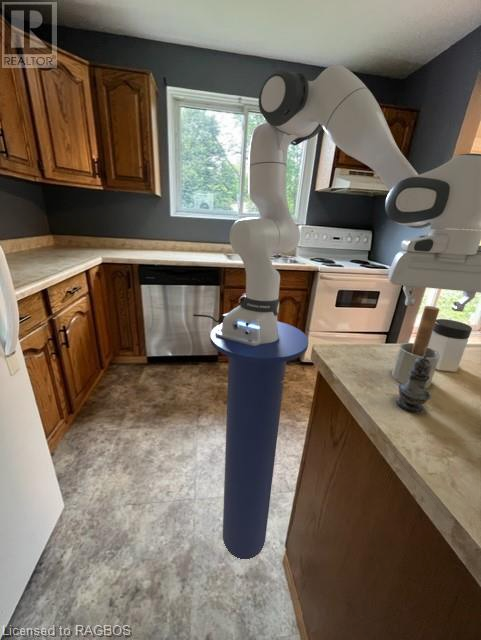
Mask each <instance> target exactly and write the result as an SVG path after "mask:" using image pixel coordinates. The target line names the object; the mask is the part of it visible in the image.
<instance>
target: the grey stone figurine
mask: <svg viewBox="0 0 481 640" xmlns="http://www.w3.org/2000/svg"><path fill="white" fill-rule="evenodd" d="M426 357H427V356H426V355H424V356H423V357H422V358H417V359H416V360H415V362H414V365H413V369H412V370H411V371H409V374H410V377H409V380H408V382H407V383H399V384H398V385H397V389H398V393H399V397H397V398H395V403H396V405H397V406H398V407H399V408H401V409H402V410H404V411H406V412H408V413H412V414H422V413H424V412H425V406H424V405H425V404H426V403H427V402H428V400H430V399H431V398H432V395H431V392H429V390H427V388H425V385H426V381H427V380H429V378H430V377H429V376H428V374H429V371H430V368H431V362H430V361H429V360H428V359H427V358H426Z"/></svg>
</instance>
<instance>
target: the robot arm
mask: <svg viewBox="0 0 481 640" xmlns="http://www.w3.org/2000/svg"><path fill="white" fill-rule="evenodd" d="M258 109H259V112H260V114H261V116H262V118H263V119H264V120H265V121H264V122H261V123H259V124H258V125H256V126H255V127H254V128H253V130H252V132H251V136H250V143H249V151H248V197H249V199H250V201H251V202H252V203H253V204H254V205H255V206H256V208H257V210H258V212H259V217H256V216H255V217H254V216H253V217H252V216H251V217H245V218H241V219H238V220H235V222H234V223H233V224H232V226H231V228H230V230H229V244H230V246H231V248H232V249H233V251H234V252H235V253H236V254H237V255H238V256H239V257H240V259H241V261H242V263H243V267H244V271H245V292H244V293H243V294H241V296H240V297H239V299H238V304H239V305H238V306H236V307H235V308H233V309H231V310H230V311H229V312H227V313H224V314H222V315H221V316H219V318H218V320H217V319H216V318H214V316H212V315H208V314H195V313H194V314H192V316H193V317H199V318H201V317H202V318H210V319H211V320H213V321H214V322H215V323H220V322H221V321H222V322H221V323H223V324H221V323H220V324H221V325H220V326H219V327H218V328H217V329H216V336H218V337H222V338H225V339H229V340H233V341H236V342H240V343H244V344H247V345H251V346H256V345H259V344H265V343H271V342H275V341H277V340H278V339H279V332H278V324H277V321H278V315H279V312H280V297H279V296H280V286H281V285H280V284H281V274H280V272H279V271H278V270H277V269H276V268H275V267H274V265H273V263H272V255H283V254H287V253H289V252H291V251H293V250H295V249H296V248H297V247H298V245H299V243H300V240H301V230H300V228H299V226H298V225H297V224H296V222H295V221H294V220H293V217H292V214H291V211H290V208H289V204H288V200H287V199H288V196H287V162H288V161H287V160H288V159H287V157H288V149H289V147H290V145H292V146H298V145H300V144H301V143H303V142H304V141H308V140H310V139H312V138H314V137H315V136H316V135H318V134H319V133H320V132H321V130H322V129H323V130H324V132H325V134H326V135H327V136H328V138H329V139H330V140H331V141H332V143H333V144H334V145H335V146H336V147H337V148H339V150H341V151H342V152H343V153H345V154H346V155H347V156H349V157H351V158H353V159H355V160H357V161H359V162H360V163H362V164H364V165H366V166H367V167H369V169H371V170H372V171H373V172H374V173H376V175H377V176H378V177H379V178H380V180H381V181H382V183H383V184H384V185H385V186H386V187H387V189H388V190H389V192H388V194H387V196H386V198H385V202H384V203H385V204H384V209H385V212H386V215H387V217H388V218H389V219H390V220H391V221H393V222H394V223H396V224H398V225H401V226H405V227H408V228H413V229H423V228H427V227H429V231H428V233H427V234H424V235H418V236H415V237H411V238H406V239H404V240H402V241H401V244H400V248H401V250H400V251H398V252H397V253H396V254H395V256H394V258H393V259H392V263H391V265H390V268H389V272H388V275H387V279H388V281H389V283H391V285H395V286H403V287H402V290H403V292H404V295H405V300H404V305H405V306H407V307H414V306H415V302H416V298H415V297H414V296H412V295H411V293H410V292H412V291H413V289H414V287H417V288H427V289H436V290H437V289H439V290H447V291H459V292H462V295H463V296H462V297H461V298H460V300H458V301H453V303H452V304H453V305H452V307H451V310H452V311H454V312H462V313H463V311H464V310H465V307H466V305H467V304H468V303H470V302H471V301H472V300H473V299H474V298H475V297H476V294H477V293H481V244H480V243H481V153H472V152H471V153H461V154H458V155H454V156H453V157H452V158H451V159H449V160H448V161H447V162H445V163H443V164H442V165H441V164H440V166H438V167H436V168H433V169H431V170H429V171H425V172H422V173H421V174H419V172H418V171H416V169H415V168H414V167H413V165H412V164H411V162H409V160H408V159H407V158H406V157H405V155H404V154H403V152H402V151H401V150H400V148H399V147H398V145H397V142H396V141H395V138H394V135H393V134H392V132H391V129H390V127H389V125H388V122H387V120H386V117H385V115H384V112H383V111H382V108H381V106H380V105H379V103H378V101H377V99H376V98H375V96H374V95H373V93H372V92H371V91H370V89H369V88H368V87H367V86H366V84H365V83H364V82H363V81H362V80H361V79H360V78H359V77H358V76H357V75H355V74H354V72H352V71H351V70H350V69H348V68H347V67H345V66H344V65H341V64H333V65H330V66H328V67H326V68H325V69H324V70H323V71H322V72H321V73H319V75H318V76H317V77H316V78H315V79H314V80H308V76H307V74H306V73H301V72H293V71H289V70H277V71H274V72H272V73H271V74H270V75H268V77H267V78H266V79H265V80H264V81H263V83H262V86H261V88H260V91H259V95H258Z"/></svg>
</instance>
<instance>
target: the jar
mask: <svg viewBox="0 0 481 640" xmlns="http://www.w3.org/2000/svg"><path fill="white" fill-rule="evenodd" d="M472 330H473V327H472V326H470V325H469V324H468V323H467V324H466V323H464V322H461V321H457V320H453V319H448V318H447V319H446V318H437V319H436V322H435V325H434V328H433V332H432V335H431V338H430V341H429V344H428V347H429V348H432V349H434V350H435V351H437V352H438V353H439V354H440V357H439V360H438V363H437V366H436V369H435V370H437V371H443V372H452V373H457V371H458V369H459V366H460V363H461V361H462V358H463V356H464V353H465V350H466V347H467V344H468V342H469V338H470V336H471V333H472Z"/></svg>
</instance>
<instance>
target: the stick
mask: <svg viewBox="0 0 481 640" xmlns="http://www.w3.org/2000/svg"><path fill="white" fill-rule="evenodd" d="M439 313H440V308H439V307H436V306H433V305H432V306H431V305H425V306H424V308H423V311H422V314H421V318H420V321H419V324H418V329H417V331H416V335H415V338H414V341H413V343H414V345H413V348H412V352H411V354H414V355H417V356H421V357H423V356H424V355H425V354H426V351H427V347H428V344H429V341H430V338H431V335H432V332H433V328H434V325H435V322H436V319H438V315H439Z"/></svg>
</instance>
